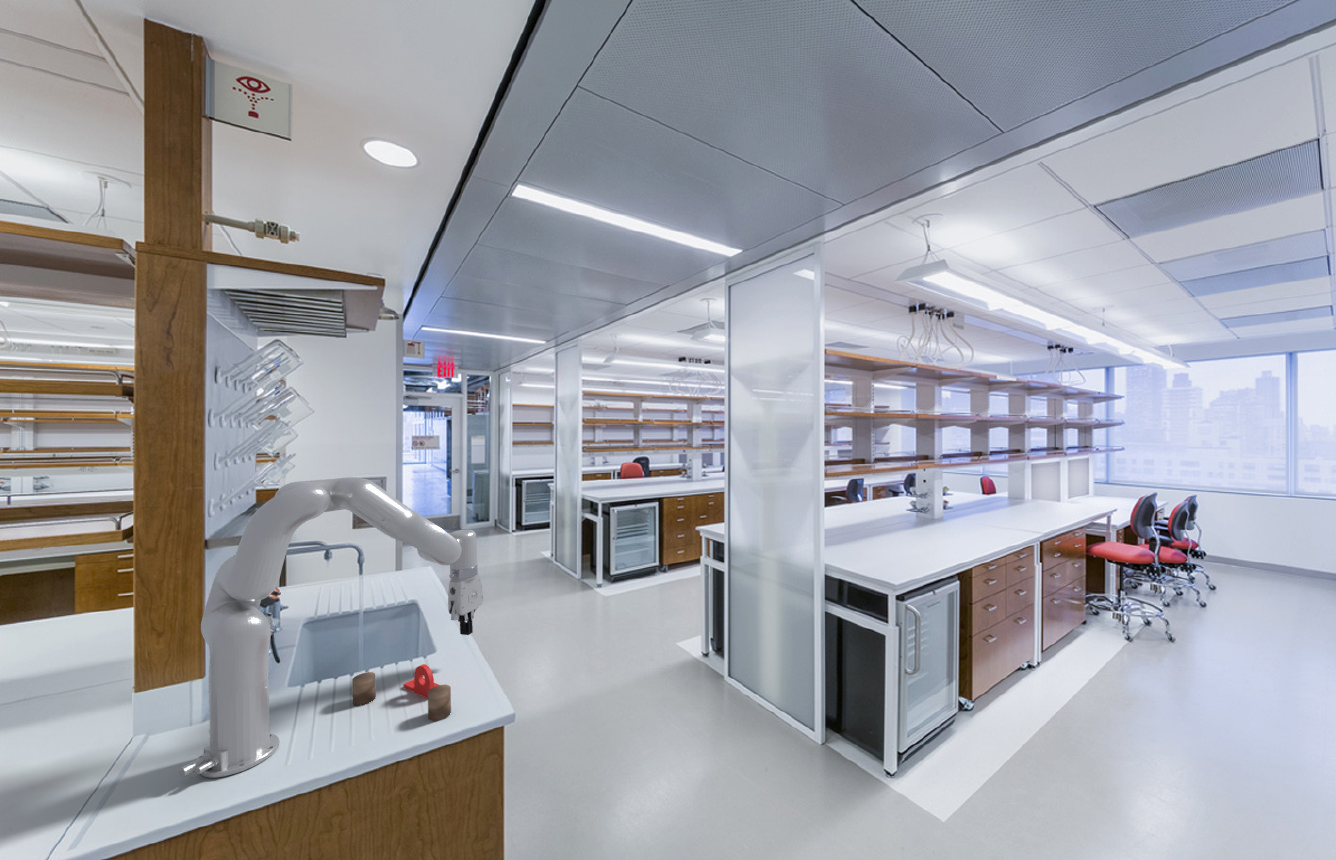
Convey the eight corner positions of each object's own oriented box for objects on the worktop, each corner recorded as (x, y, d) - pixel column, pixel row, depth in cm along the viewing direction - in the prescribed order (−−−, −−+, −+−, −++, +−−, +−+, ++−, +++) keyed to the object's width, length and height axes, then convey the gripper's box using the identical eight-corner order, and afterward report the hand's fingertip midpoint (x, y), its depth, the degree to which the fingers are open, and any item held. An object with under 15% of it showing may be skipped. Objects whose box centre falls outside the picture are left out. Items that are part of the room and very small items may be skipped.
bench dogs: (440, 722, 113) (439, 697, 113) (347, 704, 121) (347, 680, 121) (455, 710, 117) (455, 686, 117) (365, 693, 126) (365, 671, 126)
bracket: (446, 691, 126) (445, 662, 126) (430, 700, 123) (429, 669, 123) (419, 680, 133) (418, 652, 133) (403, 688, 129) (402, 659, 129)
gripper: (456, 581, 133) (458, 646, 134) (491, 565, 148) (493, 624, 148) (434, 579, 135) (437, 643, 136) (470, 564, 150) (473, 622, 150)
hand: (466, 633), depth 142 cm, fingers closed
